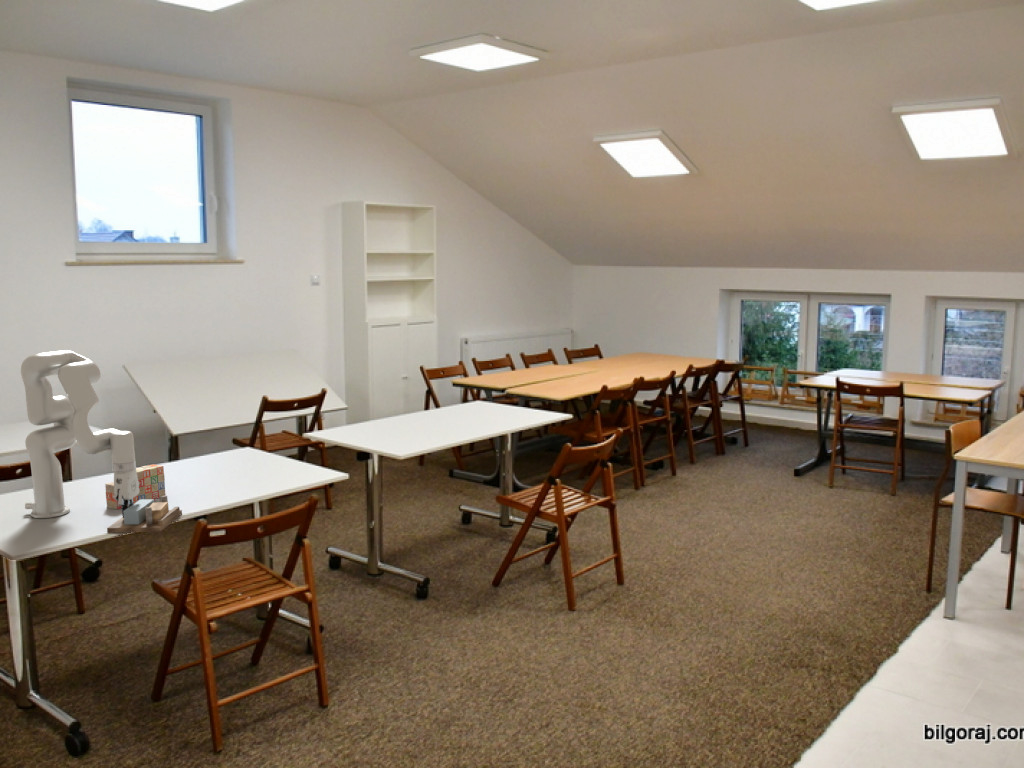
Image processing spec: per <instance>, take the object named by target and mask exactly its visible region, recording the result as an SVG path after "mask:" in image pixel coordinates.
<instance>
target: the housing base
mask: <svg viewBox="0 0 1024 768" xmlns="http://www.w3.org/2000/svg"><path fill="white" fill-rule="evenodd" d="M160 498H161V499H160V500H161V501H160V502H168V495H166V496H161V497H160ZM168 503H169V502H168ZM145 511H146V519H145V520H144V521H143V522H141V523H140V524H129V525H124V518H123V516H122V517H121V518H119V519H118V520H116V521H115V522H113V523H112V524H111V525H110V526H108V527H107V528H106V531H107V533H140V532H141V533H143V532H145V533H146V532H147V533H148V532H149V533H151V532H152V533H153V532H158V533H159V532H162V531H163V530H164V529H166V528H167V527H168V526H170V524H172V523H173V522H174V521H175V520H176V519H178V518H179V517H180V516H181V515H183V510H182V509H180V506H174V507H173V508H172V509H169V512H168V513H167V514H165V515H164V516H163V517H161V518H160V519H159V520H158V523H153V519H152V507H146V508H145Z"/></svg>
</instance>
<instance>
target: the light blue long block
mask: <svg viewBox="0 0 1024 768" xmlns="http://www.w3.org/2000/svg"><path fill="white" fill-rule="evenodd" d="M152 503H155V499H141V500H139V501H137V502H136V503H134V504H133V505H131V506H130V507H129V508H127V509H126V510H124V511H123V513H124V525H129V524H140V523H141V522H143V521H144V520H145V519H146V513H145V508H146V507H150V506H151V505H152Z"/></svg>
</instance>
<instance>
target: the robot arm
mask: <svg viewBox="0 0 1024 768" xmlns="http://www.w3.org/2000/svg"><path fill="white" fill-rule="evenodd" d="M20 374H21V379H22V382H23V386H24V390H25V402H26V410H27V411H26V412H27V417H28V418H27V419H28V421H29V423H30V424H31V425H33V426H38V427H39V426H46V425H50V424H53V426H47V427H43V428H40V429H39V428H38V429H36V430H35V429H34V430H33V431H32V432H30V433H28V435H27V436H26V438H25V441H24V442H25V448H26V451H27V454H28V458H29V462H30V470H31V480H32V489H33V499H34V502H25V504H24V509H25V510H32V511H30V516H31V517H32V518H33V519H49V518H55V517H60V516H63V515H67V514H68V513H69V512H70V510H71V507H70V506H67V505H66V504H65V496H64V495H65V494H64V484H63V474H62V473H63V471H62V465H61V462H60V460H59V459H58V457H57V456H56V453H59V452H62V451H65V450H68V449H71V448H73V447H74V446H75V444H76V442H77V444H78V446H79V447H80V449H81V450H82V452H84V453H85V454H87V455H91V456H93V455H97V454H100V453H104V452H108V451H110V455H111V456H110V457H111V468H112V473H113V482H114V495H115V499H116V500H117V501H118V504H119V505H121V507H122V508H121V514H122V515H121V516H122V517H123V518H124V513H123V511H124V510H126V509H127V508H129V507H130V506H131V505H133V498H134V497H135V496H137V495H138V494H139V483H138V476H137V472H136V468H137V465H136V453H135V452H136V451H135V450H136V449H135V440H134V438H135V437H134V434H133V432H132V431H130V430H119V429H116V428H106V429H102V430H98V431H94V432H93V431H92V429H91V428H90V425H89V422H88V415H89V413H90V411H91V410H92V409H93V408H95V407H96V406H97V405H98V404H99V401H100V399H99V396H98V395H97V393H96V391H95V389H94V387H93V385H92V384H95V383H97V382H99V380H100V379H101V370H100V367H99V366H98V364H96V363H95V362H94V361H93V360H91V359H90V358H87V357H85V356H83V355H81V354H78V353H76V352H74V351H72V350H69V349H68V350H67V349H66V350H65V349H63V350H55V351H45V352H39V353H35V354H31V355H28V356H27V357H26V358H25V359H24V360H22V363H21V366H20ZM51 376H57V377H58V380H59V382H60V384H61V386H62V388H63V390H64V392H65V394H66V395H67V396H64V395H53V393H54V392H53V387H52V384H51V382H50V381H49V380H48V378H47V377H51Z"/></svg>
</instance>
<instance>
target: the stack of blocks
mask: <svg viewBox="0 0 1024 768" xmlns="http://www.w3.org/2000/svg"><path fill="white" fill-rule="evenodd" d="M136 472H137V476H138V483H139V494H138V495H137V496H135V497H134V498H133V504H134V503H136V502H137V501H139V500H141V499H154V500H157V499H159V498H161V496H167V495H166V483H165V472H164V465H160V464H155V463H154V464H147V465H143V466H139V467H136ZM104 485H105V486H104V487H105V499H106V508H108V509H113V510H119V509H122V507H121V505H119V504H118V501H117V500H116V499H115V495H114V481H111V482H106V483H104Z"/></svg>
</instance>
